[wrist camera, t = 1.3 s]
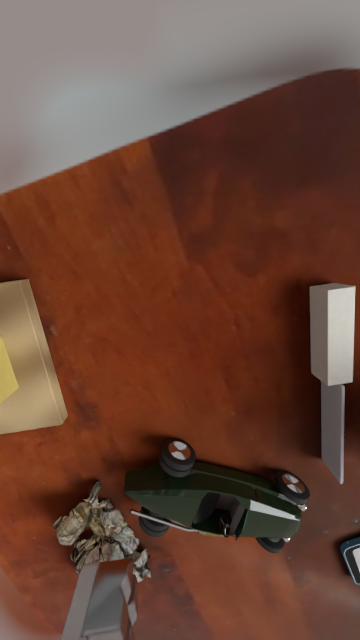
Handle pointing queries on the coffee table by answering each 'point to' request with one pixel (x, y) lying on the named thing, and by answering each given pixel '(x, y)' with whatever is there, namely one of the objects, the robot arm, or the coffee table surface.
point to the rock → (100, 535)
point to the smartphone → (352, 557)
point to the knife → (332, 363)
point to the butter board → (27, 364)
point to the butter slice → (6, 374)
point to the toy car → (215, 499)
